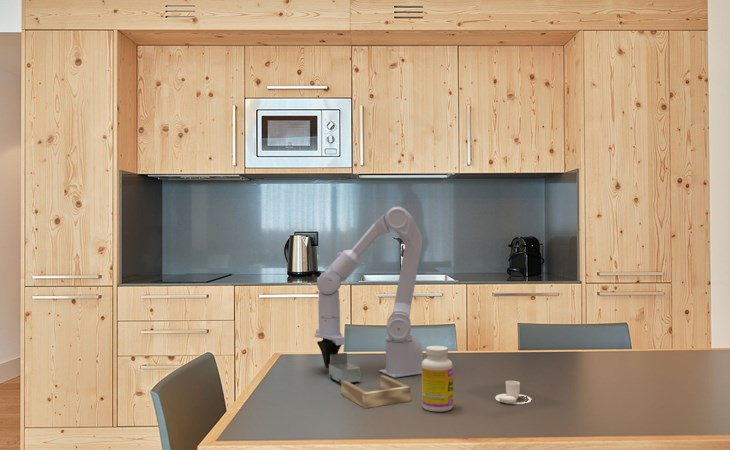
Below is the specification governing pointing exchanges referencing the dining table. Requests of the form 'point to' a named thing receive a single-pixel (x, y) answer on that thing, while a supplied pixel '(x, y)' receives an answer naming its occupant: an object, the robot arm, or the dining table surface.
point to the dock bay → (377, 393)
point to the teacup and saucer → (511, 393)
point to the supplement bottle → (437, 380)
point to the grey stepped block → (343, 369)
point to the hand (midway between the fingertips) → (329, 367)
